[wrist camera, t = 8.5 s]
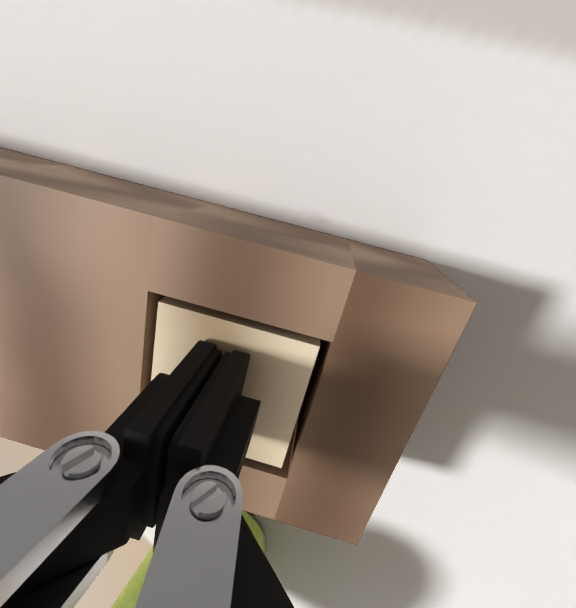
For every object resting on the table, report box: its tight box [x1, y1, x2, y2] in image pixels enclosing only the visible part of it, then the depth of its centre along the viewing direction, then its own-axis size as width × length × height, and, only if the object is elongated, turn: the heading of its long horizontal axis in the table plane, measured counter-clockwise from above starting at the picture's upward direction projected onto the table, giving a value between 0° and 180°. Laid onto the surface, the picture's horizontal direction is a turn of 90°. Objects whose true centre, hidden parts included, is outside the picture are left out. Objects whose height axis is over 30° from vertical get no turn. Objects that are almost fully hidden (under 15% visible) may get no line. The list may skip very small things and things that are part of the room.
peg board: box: [0, 147, 477, 545], centre depth 13 cm, size 24×10×5 cm, turn 76°
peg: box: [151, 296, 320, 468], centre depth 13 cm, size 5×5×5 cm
